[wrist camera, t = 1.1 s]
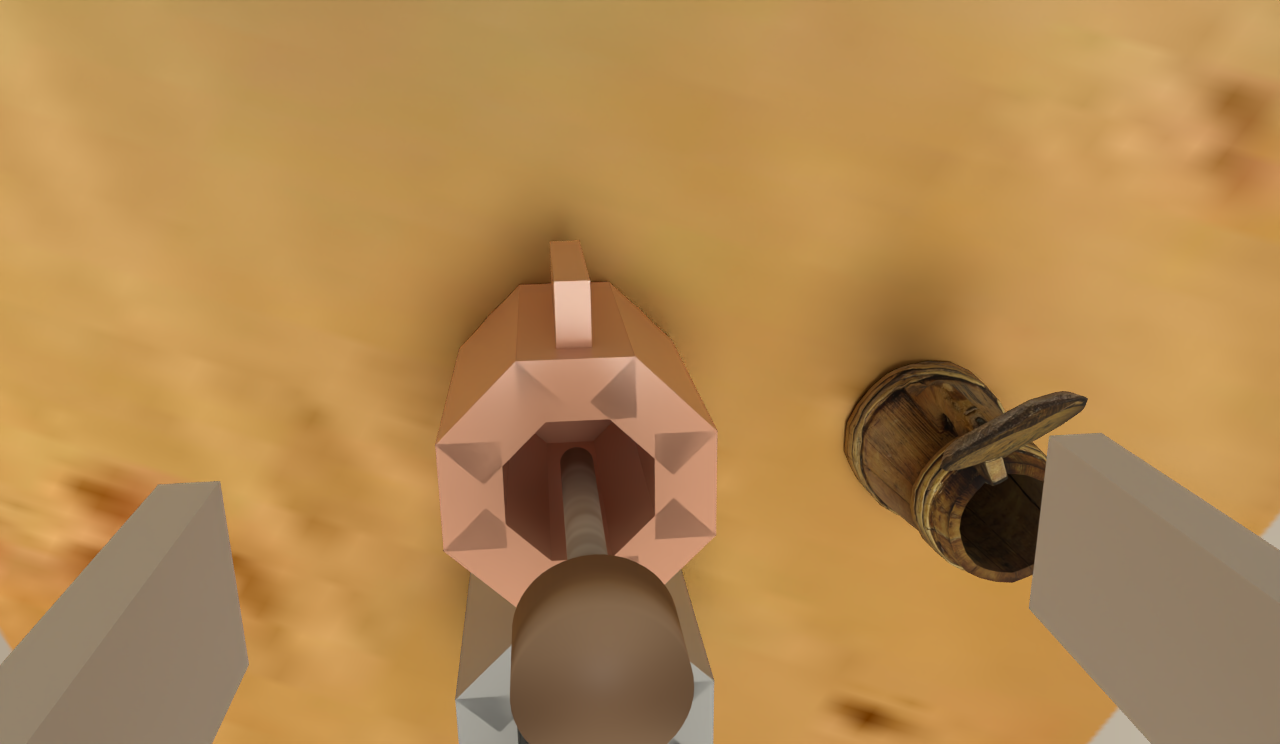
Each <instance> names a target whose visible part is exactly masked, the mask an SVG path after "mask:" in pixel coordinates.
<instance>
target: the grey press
mask: <svg viewBox="0 0 1280 744" xmlns="http://www.w3.org/2000/svg"><path fill="white" fill-rule="evenodd" d="M665 586H666V587H667V589H668V591H669V592H670V594H671V596H672V598H673V601H674V603H675V607H676V610H677V614H678V618H679V622H680V626H681V629H682V633H683V637H684V641H685V644H686V648H687V652H688V656H689V660H690V663H691V667H692V672H693V676H694V697H693V701H692V706H691V709H690V711H689V714H688V717H687V718H686V720H685V722H684V724H683V726H682V727H681V729H680V730H679V731H678V733H677V734H676V735H675V736H674V737H673V738H672V739H671V741H670V742H669V743H668V744H713V717H714V678H713V675H712V672H711V668H710V665H709V661H708V658H707V655H706V651H705V648H704V645H703V641H702V638H701V634H700V631H699V628H698V624H697V621H696V617H695V614H694V611H693V607H692V604H691V600H690V597H689V594H688V590H687V587H686V584H685V580H684V577H683V573H682V570H681V569H680V570H679V571H678V572H677V573H676V574H675V575H674V576H673V577H672V578H671V579H670V580H669V581H668V582H667V583H666V584H665ZM515 610H516V607H515V606H514V605H513V604H511V603H510V602H509V601H507V600H506V599H505V598H504V597H502V596H501V595H500V594H498V593H497V592H496V591H494V590H493V589H492V588H491V587H489V586H488V585H487V584H485V583H484V582H483V581H482V580H480V579H479V578H478V577H476V576H475V575H474V574H472V573H471V572H470V580H469V588H468V597H467V605H466V613H465V622H464V630H463V638H462V647H461V655H460V664H459V672H458V680H457V689H456V697H455V700H456V712H457V725H458V738H459V744H529V743H528V742H527V741H526V740H525V739H524V737H523V736H522V734H521V733H520V731H519V730H518V728H517V725H516V723H515V721H514V718H513V715H512V712H511V706H510V674H511V645H512V623H513V617H514V613H515Z"/></svg>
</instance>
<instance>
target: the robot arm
mask: <svg viewBox="0 0 1280 744" xmlns="http://www.w3.org/2000/svg"><path fill="white" fill-rule="evenodd" d="M1029 609H1030V610H1031V611H1032V612H1033V614H1034V615H1035V616H1036V617H1037V618H1038V619H1039V620H1040V621H1041V622H1042V623H1043V625H1044V626H1045V627H1046V628H1047V629H1048V630H1049V631H1050V632H1051V633H1052V635H1053V636H1054V637H1055V638H1056V639H1057V640H1058V641H1059V642H1060V643H1061V644H1062V646H1063V647H1064V648H1065V649H1066V650H1067V651H1068V652H1069V653H1070V654H1071V656H1072V657H1073V658H1074V659H1075V660H1076V661H1077V662H1078V663H1079V664H1080V665H1081V667H1082V668H1083V669H1084V670H1085V671H1086V672H1087V673H1088V674H1089V675H1090V677H1091V678H1092V679H1093V680H1094V681H1095V682H1096V683H1097V684H1098V685H1099V686H1100V688H1101V689H1102V690H1103V691H1104V692H1105V693H1106V694H1107V695H1108V696H1109V698H1110V699H1111V700H1112V701H1113V702H1114V703H1115V704H1116V705H1117V706H1118V707H1119V709H1120V710H1121V711H1122V712H1123V713H1124V714H1125V715H1126V716H1127V717H1128V719H1129V720H1130V721H1131V722H1132V723H1133V724H1134V725H1135V726H1136V727H1137V728H1138V730H1139V731H1140V732H1141V733H1142V734H1143V735H1144V736H1145V737H1146V738H1147V740H1148V741H1149V742H1150V743H1151V744H1280V550H1279V549H1277V548H1276V547H1274V546H1272V545H1271V544H1269V543H1268V542H1266V541H1265V540H1263V539H1262V538H1260V537H1259V536H1257V535H1256V534H1254V533H1253V532H1251V531H1250V530H1248V529H1247V528H1245V527H1244V526H1242V525H1241V524H1239V523H1238V522H1236V521H1234V520H1233V519H1231V518H1230V517H1228V516H1227V515H1225V514H1224V513H1222V512H1221V511H1219V510H1218V509H1216V508H1215V507H1213V506H1212V505H1210V504H1209V503H1207V502H1206V501H1204V500H1203V499H1201V498H1199V497H1198V496H1196V495H1195V494H1193V493H1192V492H1190V491H1189V490H1187V489H1186V488H1184V487H1183V486H1181V485H1180V484H1178V483H1177V482H1175V481H1174V480H1172V479H1171V478H1169V477H1167V476H1166V475H1164V474H1163V473H1161V472H1160V471H1158V470H1157V469H1155V468H1154V467H1152V466H1151V465H1149V464H1148V463H1146V462H1145V461H1143V460H1142V459H1140V458H1139V457H1137V456H1136V455H1134V454H1132V453H1131V452H1129V451H1128V450H1126V449H1125V448H1123V447H1122V446H1120V445H1119V444H1117V443H1116V442H1114V441H1113V440H1111V439H1110V438H1108V437H1107V436H1105V435H1104V434H1102V433H1091V434H1073V435H1055V436H1049V444H1048V452H1047V460H1046V469H1045V477H1044V486H1043V494H1042V502H1041V511H1040V519H1039V528H1038V536H1037V545H1036V553H1035V561H1034V570H1033V578H1032V587H1031V595H1030V604H1029ZM248 665H249V662H248V656H247V650H246V643H245V637H244V630H243V624H242V618H241V611H240V605H239V599H238V592H237V586H236V580H235V573H234V567H233V561H232V554H231V548H230V542H229V535H228V529H227V522H226V516H225V510H224V503H223V497H222V491H221V484H220V481H214V482H195V483H177V484H159V485H158V486H157V487H156V488H155V489H154V490H153V491H152V493H151V494H150V495H149V496H148V497H147V498H146V499H145V501H144V502H143V503H142V504H141V505H140V506H139V507H138V509H137V510H136V511H135V512H134V513H133V514H132V515H131V517H130V518H129V519H128V520H127V521H126V522H125V523H124V525H123V526H122V527H121V528H120V529H119V530H118V531H117V532H116V534H115V535H114V536H113V537H112V538H111V539H110V540H109V542H108V543H107V544H106V545H105V546H104V547H103V548H102V550H101V551H100V552H99V553H98V554H97V555H96V556H95V558H94V559H93V560H92V561H91V562H90V563H89V564H88V566H87V567H86V568H85V569H84V570H83V571H82V572H81V574H80V575H79V576H78V577H77V578H76V579H75V580H74V582H73V583H72V584H71V585H70V586H69V587H68V588H67V590H66V591H65V592H64V593H63V594H62V595H61V596H60V598H59V599H58V600H57V601H56V602H55V603H54V604H53V606H52V607H51V608H50V609H49V610H48V611H47V612H46V614H45V615H44V616H43V617H42V618H41V619H40V620H39V621H38V623H37V624H36V625H35V626H34V627H33V628H32V629H31V631H30V632H29V633H28V634H27V635H26V636H25V637H24V639H23V640H22V641H21V642H20V643H19V644H18V645H17V647H16V648H15V649H14V650H13V651H12V652H11V653H10V655H9V656H8V657H7V658H6V659H5V660H4V661H3V663H2V664H1V665H0V744H212V742H213V740H214V738H215V736H216V734H217V732H218V729H219V727H220V725H221V723H222V721H223V719H224V717H225V714H226V712H227V710H228V708H229V706H230V704H231V702H232V699H233V697H234V695H235V693H236V691H237V689H238V687H239V685H240V682H241V680H242V678H243V676H244V674H245V672H246V670H247V667H248Z"/></svg>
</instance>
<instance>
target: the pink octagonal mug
mask: <svg viewBox="0 0 1280 744" xmlns="http://www.w3.org/2000/svg"><path fill="white" fill-rule="evenodd" d="M550 262H551V282H550V283H546V284H526V285H519V286H518V287H517V288H516V289H515V290H514V291H513V292H512V293H511V294H510V295H509V296H508V297H507V299H506V300H505V301H504V302H503V303H502V304H500V305H499V306H498V307H497V308H496V309H495V310H494V311H493V312H492V313H491V314H490V315H489V316H488V317H487V318H486V319H485V321H484V322H483V323H482V324H481V326H480V327H479V328H478V329H477V330H476V331H475V332H474V333H473V334H472V336H471V337H470V338H469V339H468V340H467V341H466V342H465V343H464V344H463V345H462V346H461V347H460V348H459V351H458V355H457V359H456V363H455V367H454V371H453V375H452V379H451V383H450V387H449V391H448V395H447V399H446V403H445V407H444V411H443V415H442V419H441V423H440V427H439V431H438V435H437V439H436V443H435V447H436V459H437V472H438V485H439V497H440V510H441V523H442V535H443V548H444V550H443V551H444V552H445V553H447V554H448V555H449V556H451V557H452V558H453V559H454V560H456V561H457V562H458V563H460V564H461V565H462V566H463V567H465V568H466V569H467V570H469V571H470V572H471V573H472V574H474V575H475V576H476V577H478V578H479V579H480V580H482V581H483V582H484V583H485V584H487V585H488V586H489V587H491V588H492V589H493V590H494V591H496V592H497V593H498V594H500V595H501V596H502V597H504V598H505V599H506V600H507V601H509V602H510V603H511V604H513V605H514V606H515V607H517V605H518V603H519V600H520V598H521V597H522V595H523V594H524V592H525V591H526V589H527V588H528V587H529V586H530V584H531V583H532V582H533V581H534V580H535V579H536V578H537V577H538V576H540V575H541V574H542V573H543V572H545V571H546V570H548V569H549V568H551V567H553V566H555V565H557V564H559V563H560V562H563V561H566V560H567V550H566V536H565V522H564V508H563V494H562V481H561V467H560V460H561V457H562V455H563V454H564V452H565V451H567V450H568V449H570V448H573V447H581V448H584V449H586V450H587V451H588V452H589V453H590V454H591V455H592V458H593V463H594V470H595V476H596V483H597V489H598V496H599V502H600V509H601V515H602V521H603V528H604V534H605V541H606V547H607V554H608V555H614V556H619V557H623V558H627V559H629V560H632V561H634V562H637V563H639V564H641V565H642V566H644V567H646V568H647V569H649V570H650V571H651V572H653V573H654V574H655V575H656V576H657V577H658V578H659V579H660V580H661V581H662V582H663V583H664V585H665V584H666V583H667V582H668V581H669V580H670V579H671V578H672V577H673V576H674V575H675V574H676V573H677V572H678V571H679V570H680V569H681V568H683V567H684V566H685V565H686V564H687V563H688V562H689V561H690V560H691V559H692V558H693V557H694V556H695V555H696V554H697V553H698V552H699V551H700V550H701V549H702V548H703V547H704V546H705V545H706V544H707V543H708V542H710V541H711V540H712V539H713V538H714V537H715V536H716V495H717V432H718V431H717V429H716V427H715V425H714V423H713V421H712V419H711V417H710V415H709V413H708V411H707V409H706V407H705V405H704V403H703V401H702V399H701V397H700V395H699V393H698V391H697V389H696V387H695V385H694V383H693V381H692V379H691V377H690V375H689V373H688V371H687V369H686V367H685V365H684V363H683V361H682V360H681V358H680V356H679V354H678V352H677V350H676V348H675V346H674V344H673V342H672V340H671V339H670V338H669V337H668V336H667V335H666V334H665V333H664V332H662V331H661V330H660V329H659V328H658V327H657V326H656V325H655V324H654V323H653V322H652V321H651V320H650V319H649V318H648V317H647V316H646V315H645V314H644V313H643V312H642V311H641V310H640V309H639V308H638V307H637V306H635V305H634V304H633V303H632V302H631V301H629V300H628V299H627V298H626V297H625V296H624V295H623V294H622V293H621V292H619V291H618V290H617V289H616V288H615V287H614V286H613V285H612V284H611V283H610V282H590V278H589V275H588V271H587V267H586V263H585V260H584V256H583V252H582V248H581V245H580V241H579V240H576V241H550Z"/></svg>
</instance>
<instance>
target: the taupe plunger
mask: <svg viewBox="0 0 1280 744" xmlns="http://www.w3.org/2000/svg"><path fill="white" fill-rule="evenodd" d="M560 467H561V481H562V494H563V508H564V522H565V536H566V550H567V560H566V561H563V562H560V563H559V564H557V565H555V566H553V567H551V568H549V569H548V570H546V571H545V572H543V573H542V574H541V575H540V576H538V577H537V578H536V579H535V580H534V581H533V582H532V583H531V584H530V586H529V587H528V588H527V589H526V591H525V592H524V594H523V595H522V597H521V598H520V600H519V603H518V605H517V607H516V610H515V613H514V617H513V623H512V645H511V674H510V706H511V712H512V715H513V718H514V721H515V723H516V725H517V728H518V730H519V731H520V733H521V734H522V736H523V737H524V739H525V740H526V741H527V742H528V743H529V744H668V743H669V742H670V741H671V739H672V738H673V737H674V736H675V735H676V734H677V733H678V731H679V730H680V729H681V727H682V726H683V724H684V722H685V720H686V718H687V717H688V714H689V711H690V709H691V706H692V701H693V697H694V676H693V672H692V667H691V663H690V660H689V656H688V652H687V648H686V644H685V641H684V637H683V633H682V629H681V626H680V622H679V618H678V614H677V610H676V607H675V603H674V601H673V598H672V596H671V594H670V592H669V591H668V589H667V587H666V586H665V585H664V583H663V582H662V581H661V580H660V579H659V578H658V577H657V576H656V575H655V574H654V573H653V572H651V571H650V570H649V569H647V568H646V567H644V566H642V565H641V564H639V563H637V562H634V561H632V560H629V559H627V558H623V557H619V556H614V555H608V554H607V547H606V541H605V534H604V528H603V521H602V515H601V509H600V502H599V496H598V489H597V483H596V476H595V470H594V463H593V458H592V455H591V454H590V453H589V452H588V451H587V450H586V449H584V448H581V447H573V448H570V449H568V450H567V451H565V452H564V454H563V455H562V457H561V460H560Z"/></svg>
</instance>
